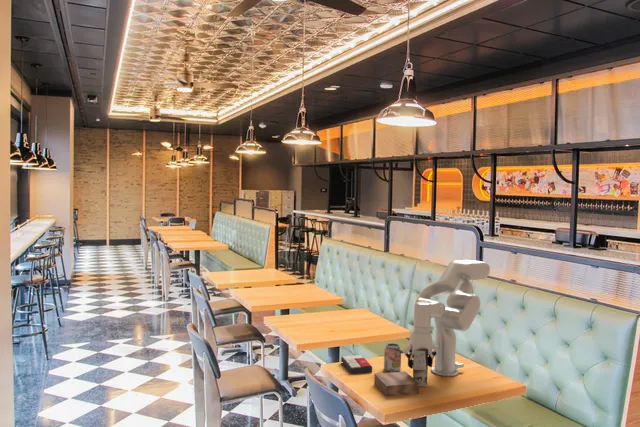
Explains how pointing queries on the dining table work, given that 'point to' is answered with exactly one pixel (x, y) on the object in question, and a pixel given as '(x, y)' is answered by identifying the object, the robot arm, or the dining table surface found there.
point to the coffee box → (420, 366)
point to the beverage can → (392, 357)
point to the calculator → (356, 364)
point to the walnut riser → (396, 384)
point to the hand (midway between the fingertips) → (420, 366)
